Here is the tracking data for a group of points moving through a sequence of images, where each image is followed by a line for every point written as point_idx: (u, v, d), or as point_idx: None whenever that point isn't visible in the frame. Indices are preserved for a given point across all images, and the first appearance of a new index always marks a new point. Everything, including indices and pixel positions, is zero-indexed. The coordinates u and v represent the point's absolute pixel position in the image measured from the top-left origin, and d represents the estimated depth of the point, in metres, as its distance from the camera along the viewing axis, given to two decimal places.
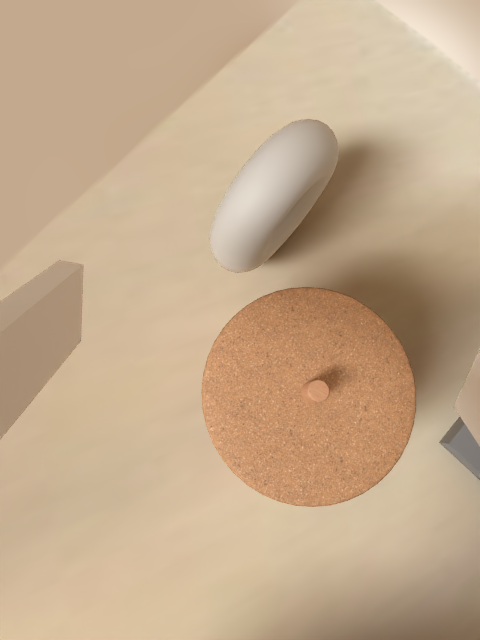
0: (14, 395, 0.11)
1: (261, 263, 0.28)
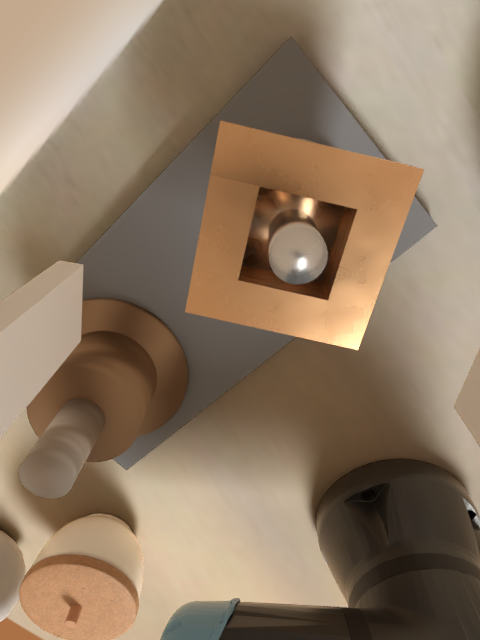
0: (14, 395, 0.11)
1: (17, 565, 0.46)
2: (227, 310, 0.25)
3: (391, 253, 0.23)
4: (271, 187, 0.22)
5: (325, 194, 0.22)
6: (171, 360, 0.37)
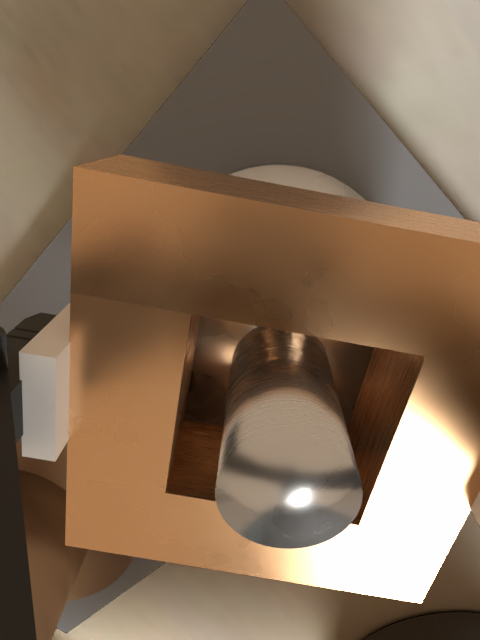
0: None
1: None
2: (150, 542, 0.12)
3: None
4: (218, 315, 0.09)
5: (348, 326, 0.09)
6: None
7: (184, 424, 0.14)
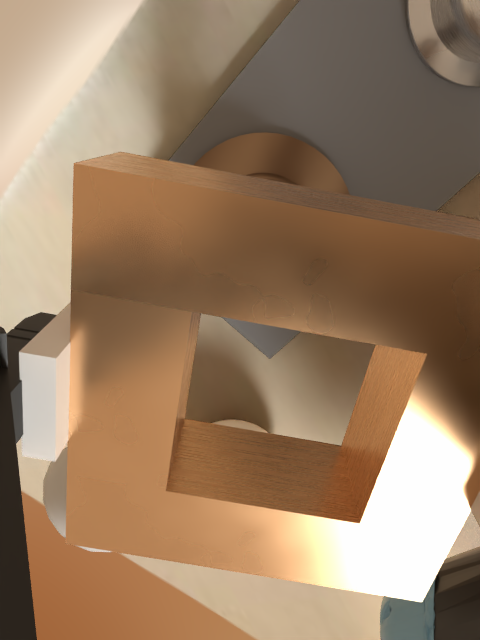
0: None
1: None
2: (150, 541, 0.12)
3: None
4: (219, 313, 0.09)
5: (350, 323, 0.09)
6: None
7: (184, 422, 0.14)
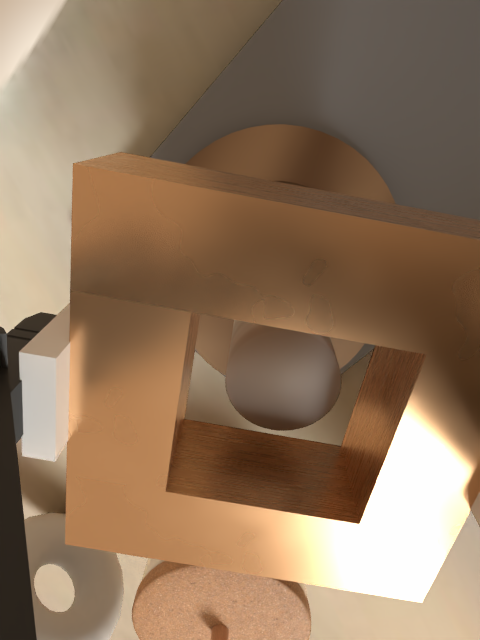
0: None
1: (113, 569, 0.32)
2: (150, 541, 0.12)
3: None
4: (219, 313, 0.09)
5: (349, 324, 0.09)
6: None
7: (184, 423, 0.14)
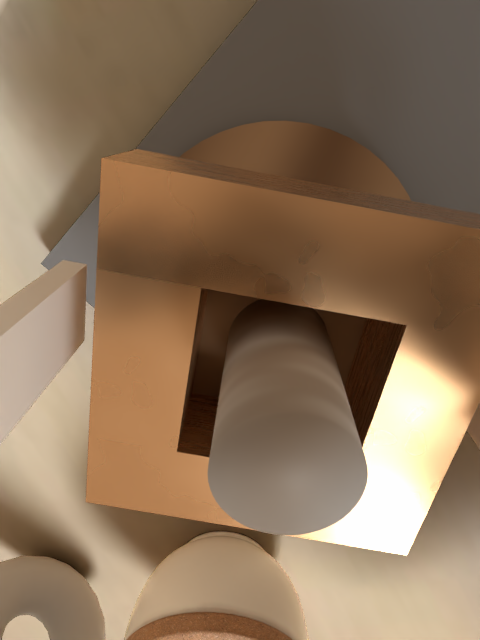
0: (19, 394, 0.11)
1: (94, 619, 0.29)
2: (162, 498, 0.14)
3: (475, 402, 0.12)
4: (225, 289, 0.11)
5: (339, 298, 0.11)
6: None
7: (192, 396, 0.15)
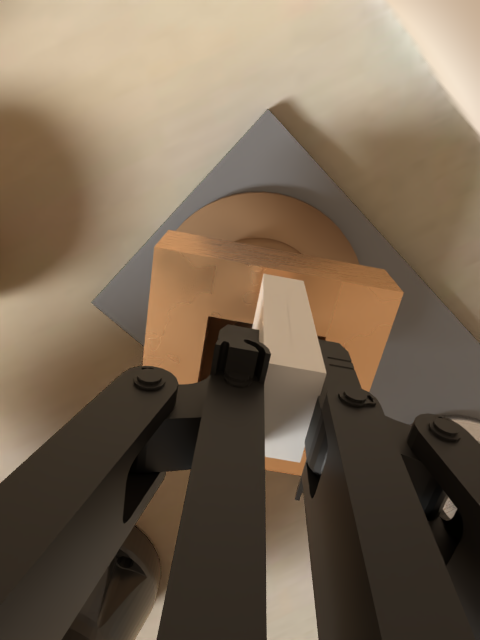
0: None
1: None
2: (164, 303, 0.19)
3: None
4: None
5: None
6: None
7: None
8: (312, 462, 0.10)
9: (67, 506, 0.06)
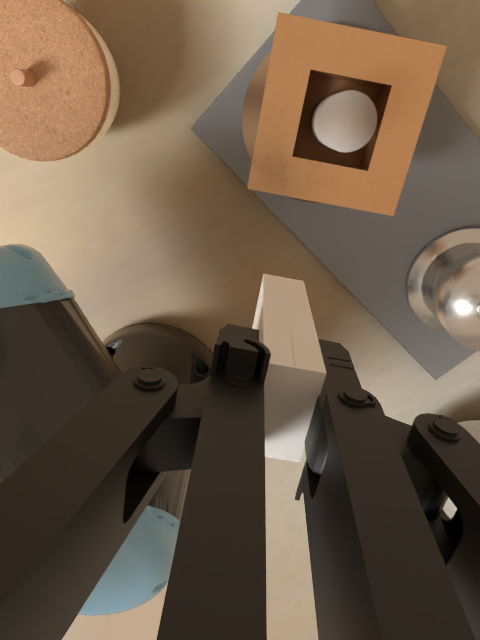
0: None
1: None
2: (281, 59, 0.27)
3: (332, 203, 0.30)
4: (390, 96, 0.27)
5: (381, 143, 0.29)
6: None
7: None
8: (312, 462, 0.10)
9: (66, 506, 0.06)
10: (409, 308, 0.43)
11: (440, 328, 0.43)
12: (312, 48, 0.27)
